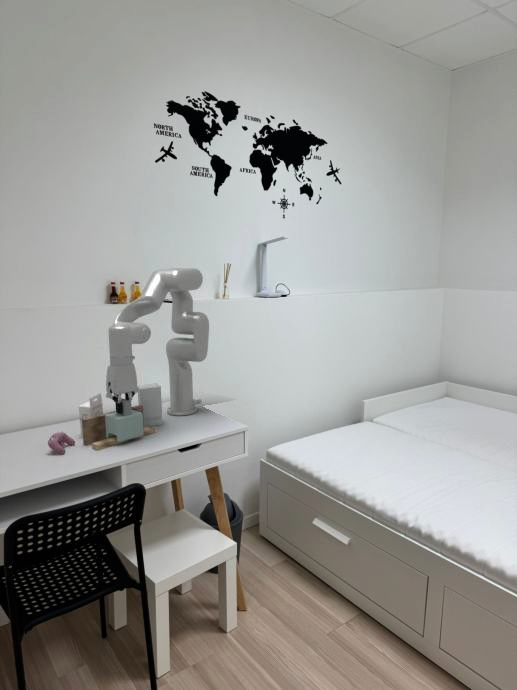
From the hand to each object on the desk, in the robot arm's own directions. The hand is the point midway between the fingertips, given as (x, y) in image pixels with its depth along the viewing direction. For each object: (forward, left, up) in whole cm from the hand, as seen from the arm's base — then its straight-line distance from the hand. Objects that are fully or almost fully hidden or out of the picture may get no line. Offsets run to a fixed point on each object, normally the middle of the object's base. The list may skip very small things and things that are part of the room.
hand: (123, 411), depth 175 cm
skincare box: (-17, -8, -11) cm, 22 cm away
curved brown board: (0, -3, -10) cm, 11 cm away
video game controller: (+19, -8, -11) cm, 24 cm away
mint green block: (0, 0, -9) cm, 9 cm away
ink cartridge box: (+4, -15, -11) cm, 19 cm away
